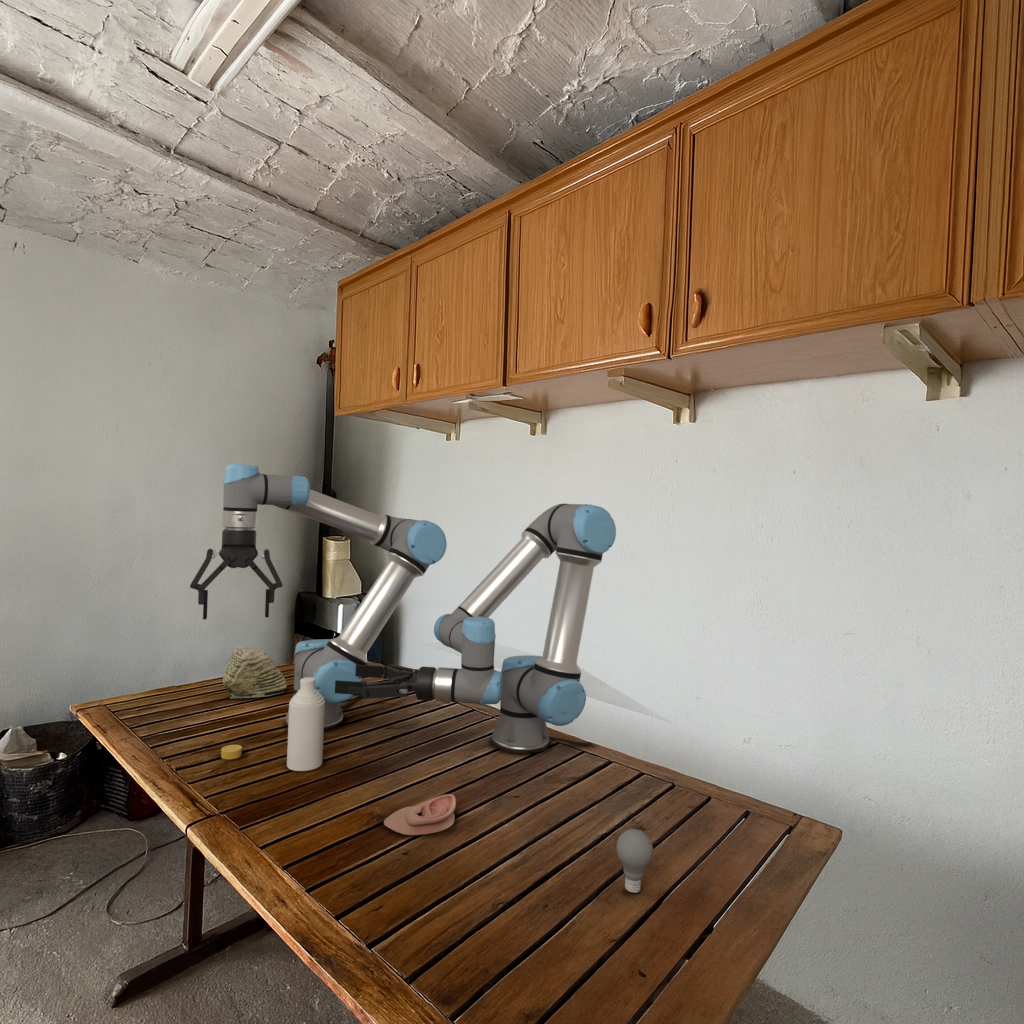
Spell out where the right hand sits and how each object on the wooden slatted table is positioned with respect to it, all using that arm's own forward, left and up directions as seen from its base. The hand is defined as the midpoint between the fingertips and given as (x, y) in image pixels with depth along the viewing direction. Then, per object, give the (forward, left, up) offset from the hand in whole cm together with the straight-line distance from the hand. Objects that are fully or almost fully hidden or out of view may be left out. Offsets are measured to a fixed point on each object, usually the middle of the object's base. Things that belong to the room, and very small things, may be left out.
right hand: (346, 678), depth 148 cm
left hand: (+25, -13, +12) cm, 31 cm away
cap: (+25, -13, -19) cm, 34 cm away
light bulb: (-42, +61, -21) cm, 77 cm away
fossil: (+22, -60, -21) cm, 67 cm away
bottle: (+8, -4, -21) cm, 23 cm away
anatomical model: (-12, +29, -21) cm, 38 cm away
